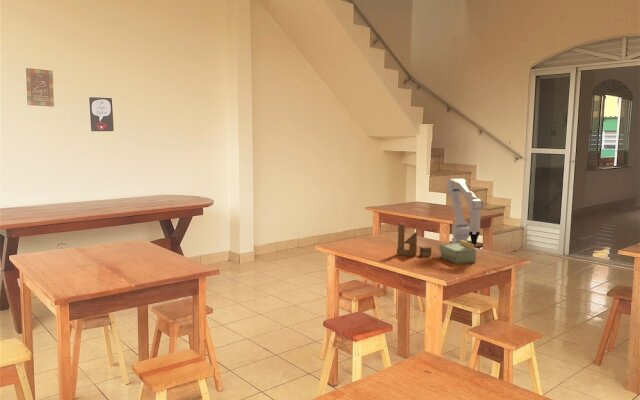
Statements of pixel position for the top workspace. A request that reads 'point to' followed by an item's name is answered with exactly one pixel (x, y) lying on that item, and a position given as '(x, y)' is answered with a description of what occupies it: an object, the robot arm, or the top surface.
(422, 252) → the small brown cube
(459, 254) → the toolbox
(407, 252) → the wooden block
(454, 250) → the lid
